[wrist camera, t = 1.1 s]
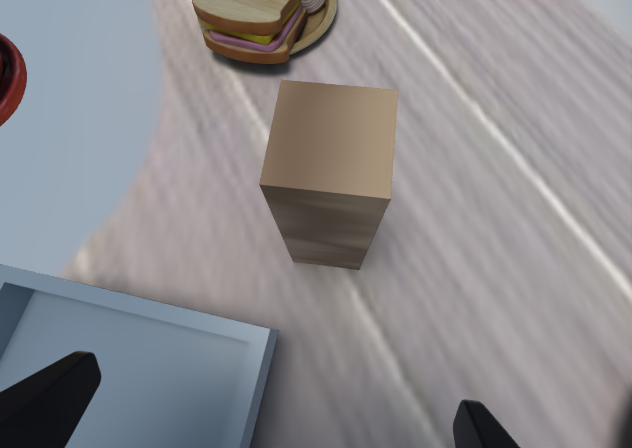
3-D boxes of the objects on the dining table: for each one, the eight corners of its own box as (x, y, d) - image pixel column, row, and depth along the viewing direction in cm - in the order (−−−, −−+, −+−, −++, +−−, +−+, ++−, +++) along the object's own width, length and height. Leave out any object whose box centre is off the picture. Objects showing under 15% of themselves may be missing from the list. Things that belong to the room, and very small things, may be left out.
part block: (364, 208, 24) (398, 89, 13) (358, 269, 23) (390, 198, 11) (302, 200, 24) (281, 80, 13) (293, 261, 23) (259, 184, 12)
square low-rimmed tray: (283, 331, 21) (270, 329, 16) (214, 614, 17) (166, 731, 12) (72, 280, 23) (-2, 263, 18) (-42, 528, 19) (-182, 599, 13)
